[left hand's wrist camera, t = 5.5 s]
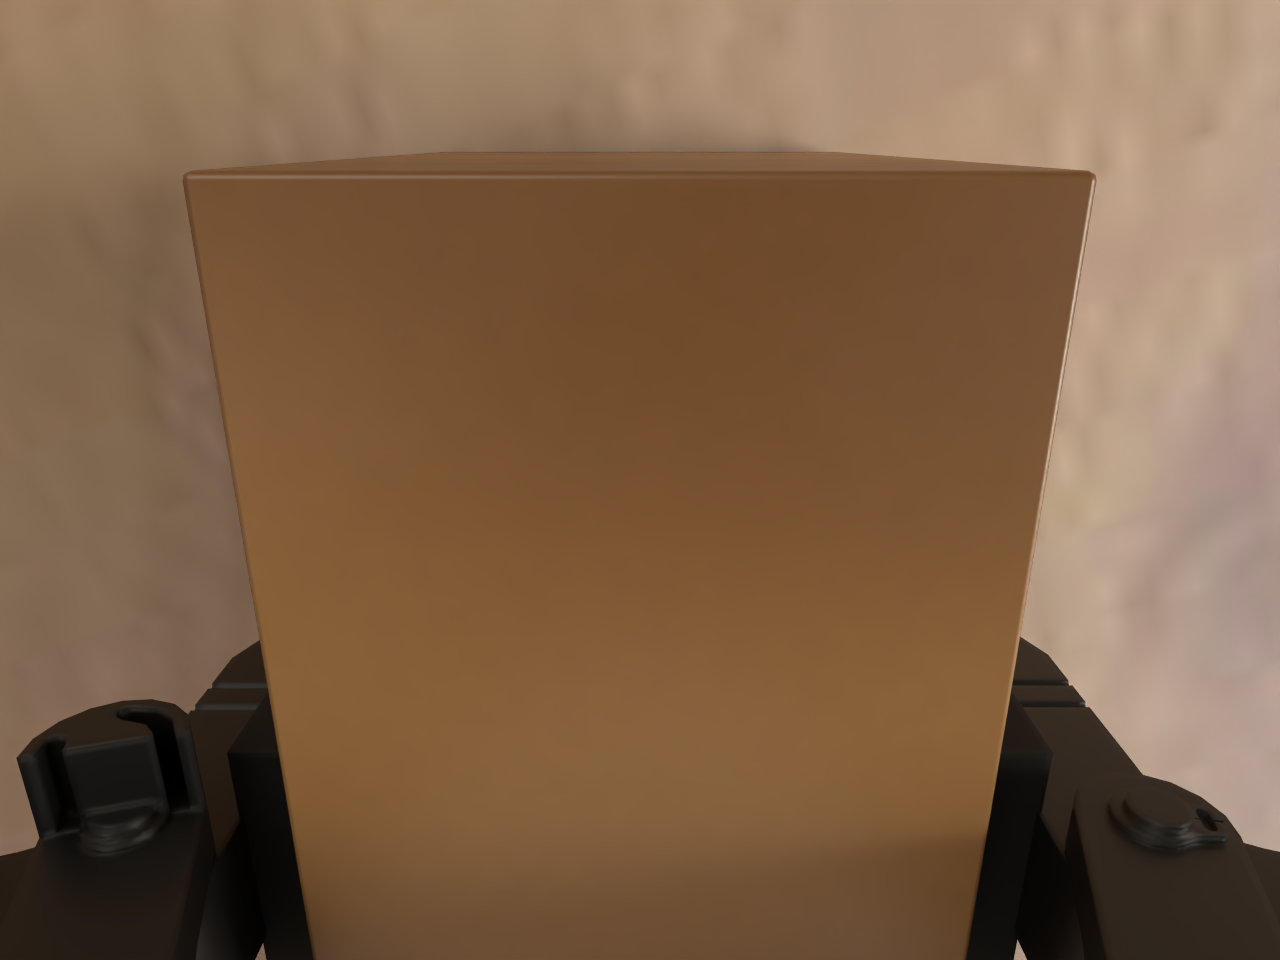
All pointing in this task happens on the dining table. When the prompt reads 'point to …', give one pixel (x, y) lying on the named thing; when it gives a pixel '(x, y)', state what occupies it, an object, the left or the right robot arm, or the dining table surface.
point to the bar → (639, 536)
